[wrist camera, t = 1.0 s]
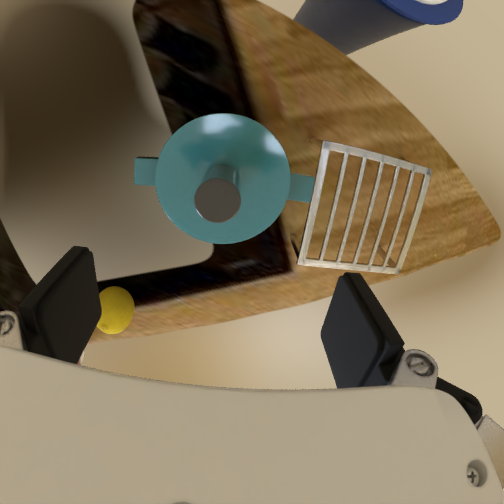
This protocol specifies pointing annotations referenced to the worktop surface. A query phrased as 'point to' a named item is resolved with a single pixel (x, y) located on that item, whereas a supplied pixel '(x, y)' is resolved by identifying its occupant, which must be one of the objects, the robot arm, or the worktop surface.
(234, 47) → the worktop surface
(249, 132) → the lid
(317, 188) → the rack
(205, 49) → the worktop surface
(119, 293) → the lemon
